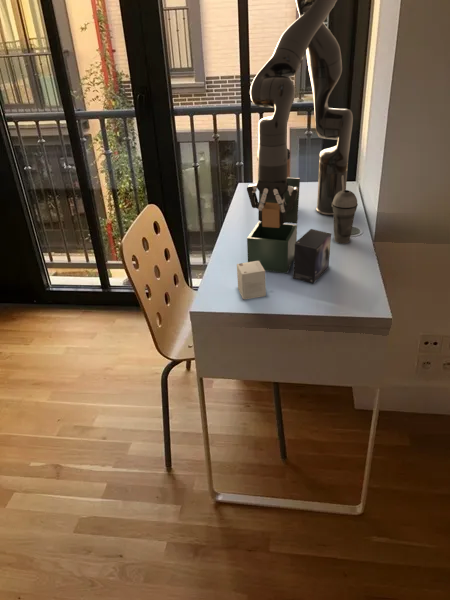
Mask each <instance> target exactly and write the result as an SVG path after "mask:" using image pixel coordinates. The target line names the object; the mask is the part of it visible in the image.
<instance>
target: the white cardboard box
mask: <svg viewBox="0 0 450 600" xmlns="http://www.w3.org/2000/svg"><path fill="white" fill-rule="evenodd" d="M236 275H237V278H236V279H237V290H238V292H239V294H240V296H241V298H242V300H243V301H244V300H251V299H257V298H264V297H266V296H267V288H266V285H267V283H266V271H265V270H264V268H263V267H262V265H261V263H260V262H259V261H253V262H248V261H247V262H241V263H237V264H236Z"/></svg>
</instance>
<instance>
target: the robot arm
mask: <svg viewBox="0 0 450 600" xmlns="http://www.w3.org/2000/svg"><path fill="white" fill-rule="evenodd" d="M337 2H338V0H295V3H296V9H297V11H298V15H299V17H298V18H297V19H296V20H295V21H293V22H292V23H291V24H290V25H289V26H288V27H287V29H285V31H283V33H282V34H281V36H280V38H279V40H278V42H277V44H276V47H275V49H274V51H273V54H272V56H271V57H270V58H269V59H268V61H266V63H265V64H264V65H263V66H262V67H261V69H260V70H259V71H258V72H257V74H256V75H255V77H254V78H253V80H252V83H251V85H250V89H249V95H250V100H251V101H252V103H253V104H254V105H255V106H256V107H260V108H269V109H270V108H272V109H274V112H273V115H271V116H266V117H263V118H261V119H260V120H259V121H258V127H257V130H258V131H257V133H258V135H257V136H258V144H257V145H258V146H257V157H256V160H257V161H256V162H257V182H256V183H254V184H253V183H250V184H249V185H248V186H247V187H246V191H247V195H248V198H249V202H250V205H251V208H253V209H257V210H258V216H259V220H260V221H259V220H258V221H259V222H261V223H262V208H263V207H264V205H265V204H266V201H267V200H270V199H272V200H277V203H278V205H279V207H280V210H281V212H280V225H283V224H286V223H285V221H286V216H287V211H288V210H289V211H291V210H292V208H293V206H294V203H295V200H296V197H297V194H298V190H299V191H300V187H299V188H298V187H295V188H294V187H291V186H289V184H288V182H287V149H288V142H287V137H288V122H289V118H290V114H291V110H292V107H293V103H294V100H295V95H296V88H295V84H294V82H293V80H292V77H294V76H295V75H296V74H297V73H298V71H299V70H300V69H299V68H301V67H300V66H301V64H302V62H303V60H304V57H305V55H306V60H307V66H308V73H309V78H310V84H311V91H312V99H313V108H314V109H313V111H314V127H315V132H316V135H317V137H319V138H320V139H325V140H334V141H336V145H334V146H331V147H327V148H324V149H322V150H321V151H320V152H319V157H318V177H317V198H316V200H317V201H316V212H317V213H319V214H320V215H324V216H325V215H326V216H334V212H333V205H332V203H333V199H334V197H335V195H336V194H337V193H338V192H340V191H342V176H344V190H347V181H348V167H349V157H350V150H351V149H350V148H351V141H352V132H353V125H354V124H353V123H354V116H353V112H352V110H351V109H348V108H333V107H330V106H329V103H328V102H329V98H330V95H331V94H332V91H333V90H334V88H335V87H336V85H337V84H338V82H339V80H340V78H341V75H342V72H343V62H342V53H341V47H340V44H339V42H338V40H337V39H336V37H335V35H333V33H332V32H331V30H330V29H329V28H328V27H327V26H326V24H325V21H326V19H327V18H328V16H329V14H330V13H331V12H332V9H333V8H334V7H335V5H336V3H337ZM287 190H288V191H289V195H290V196H291V198H290V201H289V204H288V205H286V202H285V197H284V194H285V192H286V191H287ZM257 191H259V192H260V193H261V194H262V197H261V200H260V203H259V198H258V197H257ZM259 192H258V193H259Z"/></svg>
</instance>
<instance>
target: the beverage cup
mask: <svg viewBox="0 0 450 600" xmlns="http://www.w3.org/2000/svg"><path fill="white" fill-rule="evenodd" d="M358 204H359V203H358V198H357V196H356V194H355V193H354V192H353V191H351V190H348V189H346V190H344V176H342V191H340V192H338V193H337V194H336V195H335V197H334V199H333V203H332V205H333V212H334V215H333V239H334V242H335V243H337V244H340V245H341V244H342V245H344V244H348V243H349V242H350V241H351V237H352V231H353V227H354V222H355V221H354V220H355V216H356V215H355V214H356V211H357V208H358V206H359V205H358Z"/></svg>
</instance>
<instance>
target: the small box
mask: <svg viewBox="0 0 450 600" xmlns="http://www.w3.org/2000/svg"><path fill="white" fill-rule="evenodd" d="M331 243H332V233H331V232H327V231H323V230H317V229H313V228H310V229H309V230H308V231H307V232H306V233H305V234H303V235H302V236H300V237H299V239H297V242H296V243H295V244H294V260H293V271H292V272H293V274H292V279H293V280H298V281H301V282H305V283H309V284H315V283H316V282H317V280H319V279H320V278H321V276H322V275H324V273H325V272H326V271H327V270H328V269H329V267H330V255H331V254H330V253H331Z"/></svg>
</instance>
